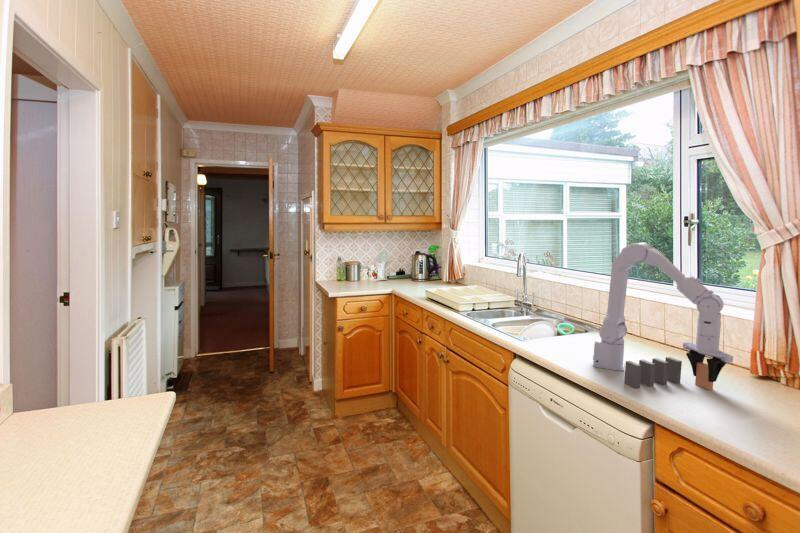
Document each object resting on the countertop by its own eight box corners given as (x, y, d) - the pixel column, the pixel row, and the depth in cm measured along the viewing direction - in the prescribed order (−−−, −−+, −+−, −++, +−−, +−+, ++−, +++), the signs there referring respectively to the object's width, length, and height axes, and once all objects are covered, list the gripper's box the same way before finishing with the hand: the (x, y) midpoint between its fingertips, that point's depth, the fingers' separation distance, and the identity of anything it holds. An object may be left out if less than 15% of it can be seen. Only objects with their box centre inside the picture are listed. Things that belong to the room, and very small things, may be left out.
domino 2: (649, 386, 133) (650, 364, 133) (638, 381, 138) (639, 359, 137) (653, 386, 134) (655, 363, 133) (642, 381, 138) (643, 359, 137)
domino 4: (676, 383, 136) (677, 361, 136) (664, 378, 140) (665, 357, 140) (680, 382, 137) (681, 361, 136) (668, 378, 141) (669, 356, 140)
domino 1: (635, 388, 132) (636, 365, 131) (624, 383, 136) (625, 361, 136) (639, 387, 132) (641, 365, 132) (628, 382, 137) (629, 360, 136)
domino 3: (662, 384, 135) (664, 362, 134) (651, 379, 139) (652, 358, 138) (666, 384, 135) (668, 362, 135) (655, 379, 140) (656, 358, 139)
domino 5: (708, 389, 131) (710, 367, 130) (695, 384, 135) (696, 362, 135) (712, 389, 132) (714, 366, 131) (699, 384, 136) (700, 362, 135)
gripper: (742, 340, 126) (738, 385, 127) (696, 328, 140) (693, 369, 141) (724, 342, 124) (720, 388, 125) (678, 329, 138) (675, 371, 139)
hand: (704, 378), depth 133 cm, fingers closed on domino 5, 4 cm apart
